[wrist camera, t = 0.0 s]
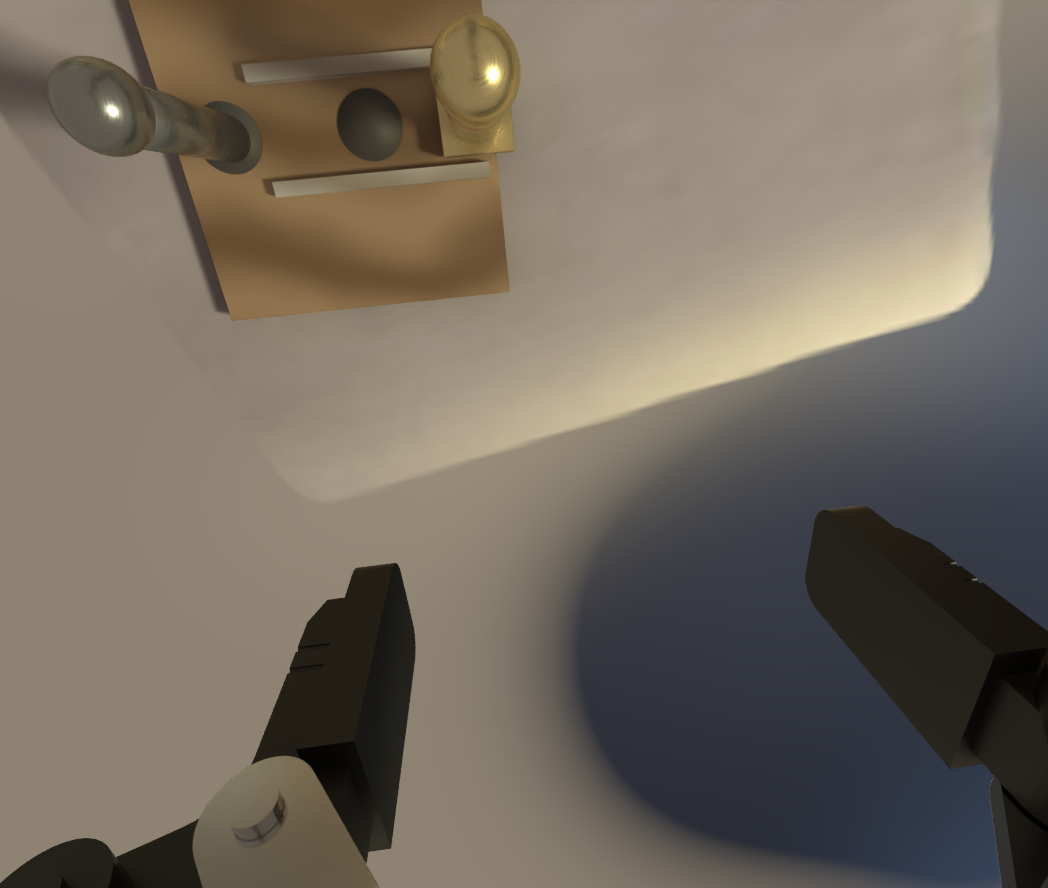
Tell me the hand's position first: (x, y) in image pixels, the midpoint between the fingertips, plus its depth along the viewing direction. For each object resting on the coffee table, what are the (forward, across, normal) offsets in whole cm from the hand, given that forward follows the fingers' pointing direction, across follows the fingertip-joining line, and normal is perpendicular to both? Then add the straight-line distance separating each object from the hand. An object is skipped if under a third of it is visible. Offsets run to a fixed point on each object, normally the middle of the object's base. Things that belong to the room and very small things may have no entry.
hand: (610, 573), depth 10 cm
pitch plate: (+29, +9, -11) cm, 33 cm away
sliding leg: (+27, +1, -11) cm, 30 cm away
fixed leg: (+28, +15, -11) cm, 33 cm away
